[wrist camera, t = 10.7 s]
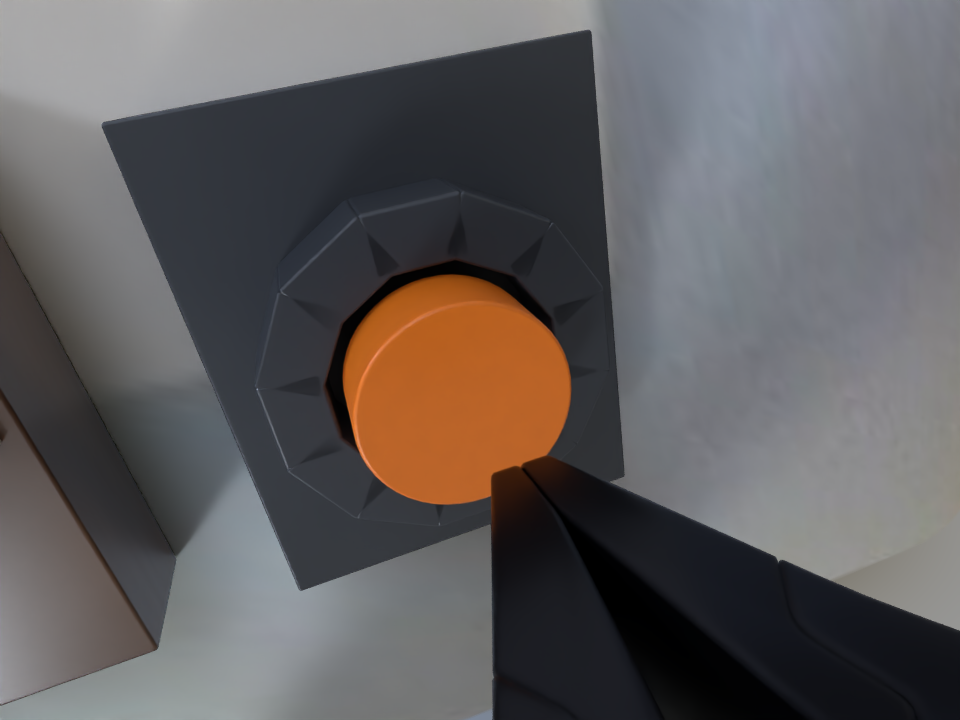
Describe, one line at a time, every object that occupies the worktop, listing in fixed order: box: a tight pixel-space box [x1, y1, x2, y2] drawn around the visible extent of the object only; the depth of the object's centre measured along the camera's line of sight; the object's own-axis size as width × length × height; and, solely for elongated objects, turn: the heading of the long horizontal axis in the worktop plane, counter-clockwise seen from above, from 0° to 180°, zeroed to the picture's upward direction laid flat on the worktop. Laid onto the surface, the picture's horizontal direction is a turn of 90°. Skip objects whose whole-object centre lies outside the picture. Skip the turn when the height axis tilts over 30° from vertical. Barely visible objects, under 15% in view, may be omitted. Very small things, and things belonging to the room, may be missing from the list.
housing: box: [102, 30, 624, 591], centre depth 14 cm, size 11×9×4 cm
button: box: [343, 274, 571, 505], centre depth 11 cm, size 4×4×2 cm
